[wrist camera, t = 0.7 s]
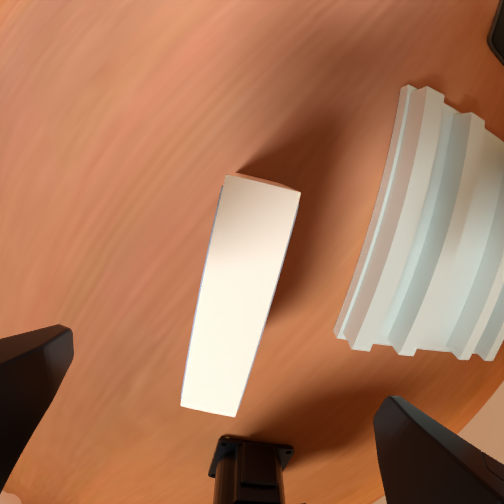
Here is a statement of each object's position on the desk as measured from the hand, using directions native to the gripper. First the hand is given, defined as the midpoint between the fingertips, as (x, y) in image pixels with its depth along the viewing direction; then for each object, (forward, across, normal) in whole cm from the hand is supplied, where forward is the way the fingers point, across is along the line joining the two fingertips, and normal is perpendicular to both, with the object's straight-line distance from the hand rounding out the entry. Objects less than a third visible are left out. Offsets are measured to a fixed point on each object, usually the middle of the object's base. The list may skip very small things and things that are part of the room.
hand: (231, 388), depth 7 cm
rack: (+11, -14, -5) cm, 18 cm away
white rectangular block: (+11, 0, 0) cm, 11 cm away
